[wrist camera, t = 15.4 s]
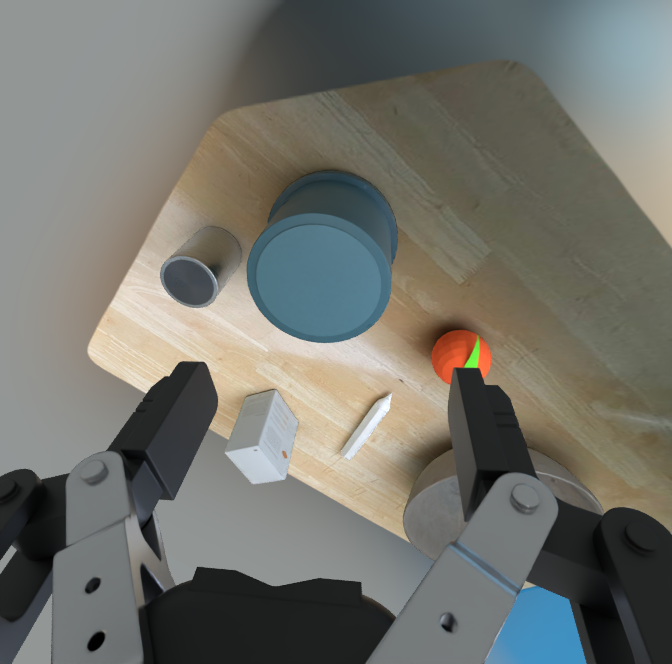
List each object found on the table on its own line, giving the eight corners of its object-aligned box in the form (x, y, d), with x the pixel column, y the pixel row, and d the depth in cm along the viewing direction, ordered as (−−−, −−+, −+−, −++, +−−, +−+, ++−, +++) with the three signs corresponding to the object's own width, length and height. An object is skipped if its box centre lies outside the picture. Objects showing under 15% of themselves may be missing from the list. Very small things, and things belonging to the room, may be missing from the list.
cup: (185, 227, 44) (150, 257, 38) (235, 225, 44) (208, 255, 37) (200, 274, 48) (171, 308, 41) (246, 273, 47) (224, 308, 41)
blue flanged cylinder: (257, 174, 40) (220, 208, 31) (398, 165, 38) (400, 199, 29) (280, 294, 48) (256, 349, 39) (396, 292, 46) (398, 349, 37)
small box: (245, 395, 60) (221, 451, 51) (276, 387, 58) (257, 444, 50) (269, 428, 64) (251, 486, 55) (299, 422, 62) (285, 480, 54)
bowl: (475, 532, 75) (485, 589, 67) (368, 470, 67) (365, 526, 59) (612, 475, 61) (647, 539, 53) (498, 387, 53) (518, 447, 45)
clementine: (443, 306, 47) (450, 341, 41) (498, 318, 47) (513, 355, 41) (421, 355, 51) (425, 392, 46) (471, 366, 52) (482, 405, 46)
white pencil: (393, 384, 56) (349, 446, 65) (381, 385, 55) (339, 448, 64) (401, 398, 54) (356, 460, 63) (390, 399, 53) (345, 462, 62)
